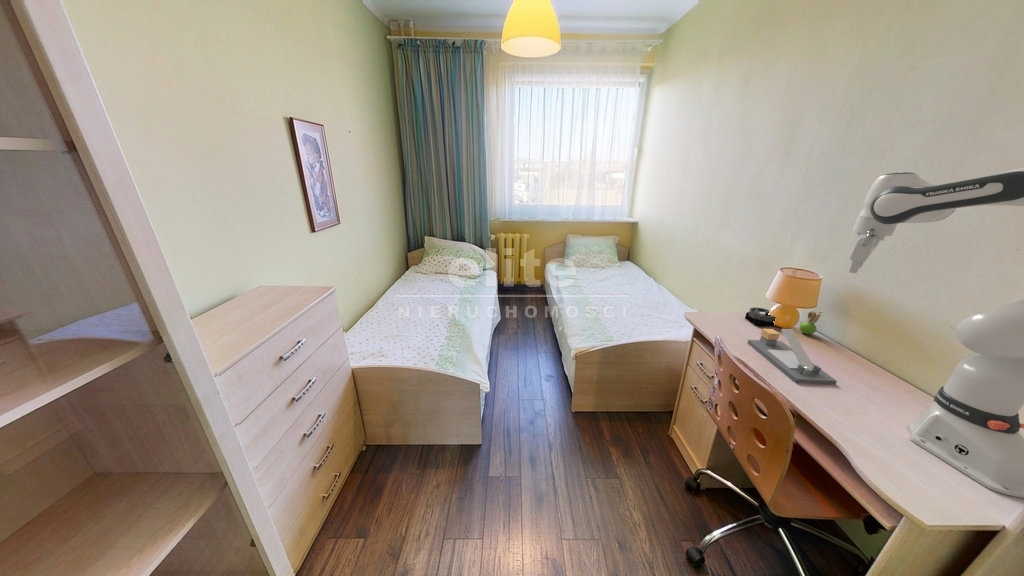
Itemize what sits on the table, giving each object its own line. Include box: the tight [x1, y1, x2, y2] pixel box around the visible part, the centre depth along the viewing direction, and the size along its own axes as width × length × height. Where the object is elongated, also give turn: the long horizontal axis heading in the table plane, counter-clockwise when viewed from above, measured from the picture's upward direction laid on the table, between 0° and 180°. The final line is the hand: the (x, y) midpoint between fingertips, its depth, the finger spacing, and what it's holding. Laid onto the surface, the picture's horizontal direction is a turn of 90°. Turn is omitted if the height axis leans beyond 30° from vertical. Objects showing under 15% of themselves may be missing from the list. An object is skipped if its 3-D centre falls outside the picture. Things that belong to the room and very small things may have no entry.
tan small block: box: [760, 328, 781, 341], centre depth 130 cm, size 4×4×3 cm
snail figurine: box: [799, 311, 823, 335], centre depth 140 cm, size 5×6×12 cm
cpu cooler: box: [744, 306, 776, 328], centre depth 151 cm, size 10×6×10 cm
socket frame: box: [747, 335, 838, 385], centre depth 121 cm, size 26×13×4 cm, turn 177°
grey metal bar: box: [781, 328, 816, 371], centre depth 117 cm, size 17×4×1 cm
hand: (855, 269), depth 106 cm, fingers open, 8 cm apart
